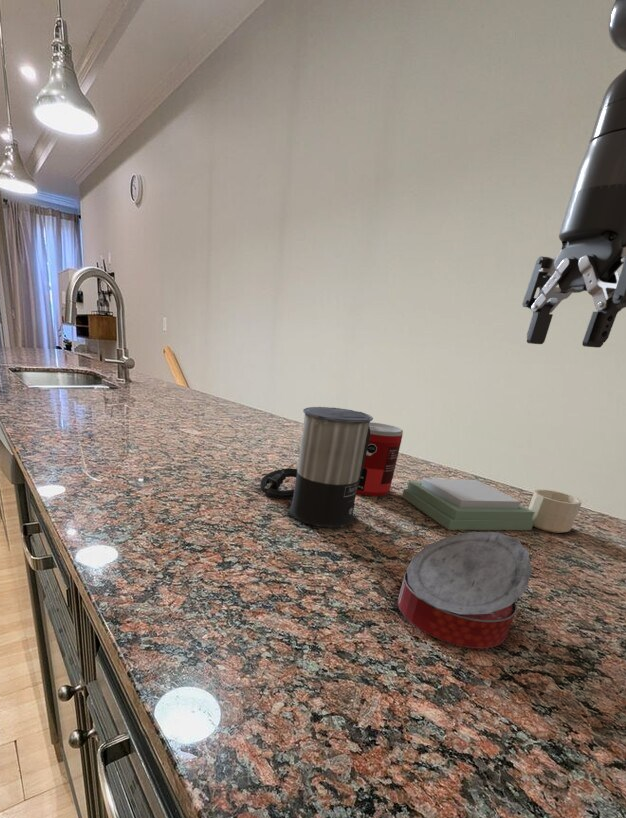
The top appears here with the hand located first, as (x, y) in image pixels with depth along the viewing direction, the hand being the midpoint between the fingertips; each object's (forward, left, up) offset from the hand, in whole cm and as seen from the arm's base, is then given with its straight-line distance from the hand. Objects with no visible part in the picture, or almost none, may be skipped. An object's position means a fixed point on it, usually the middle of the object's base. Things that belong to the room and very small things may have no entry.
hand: (560, 345), depth 56 cm
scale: (+2, -6, -26) cm, 26 cm away
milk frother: (+28, -8, -26) cm, 39 cm away
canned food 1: (+14, -16, -26) cm, 33 cm away
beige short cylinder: (-9, -1, -26) cm, 27 cm away
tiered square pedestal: (+2, -6, -23) cm, 24 cm away
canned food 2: (+22, +20, -26) cm, 39 cm away
